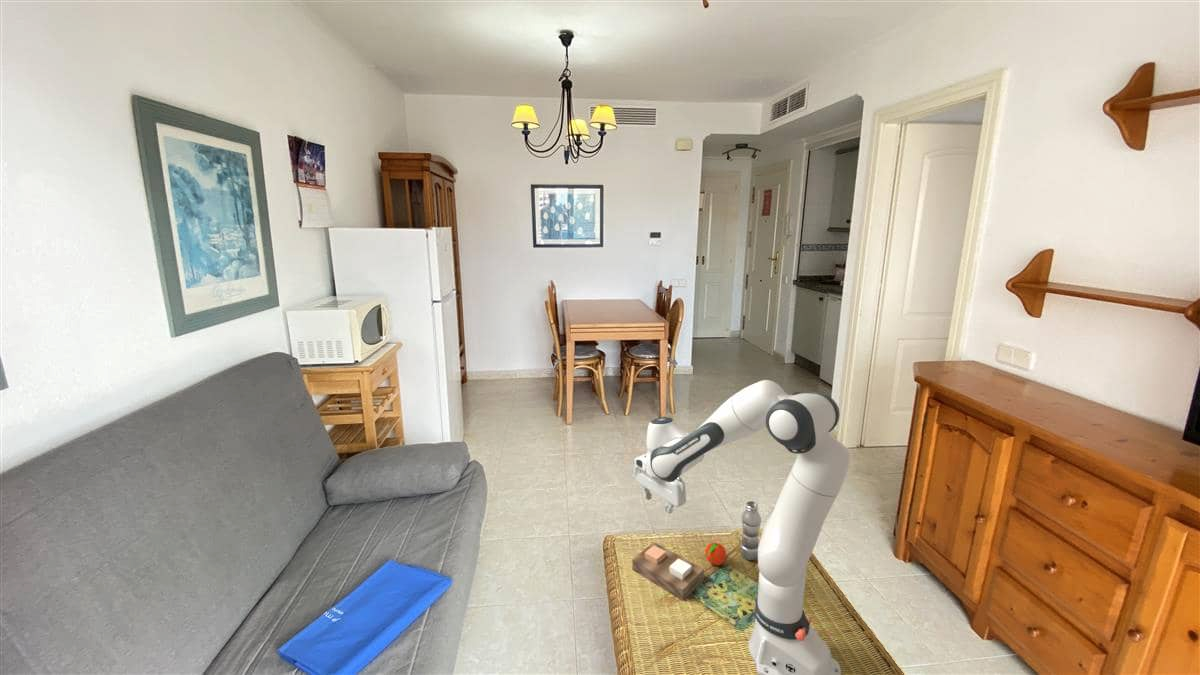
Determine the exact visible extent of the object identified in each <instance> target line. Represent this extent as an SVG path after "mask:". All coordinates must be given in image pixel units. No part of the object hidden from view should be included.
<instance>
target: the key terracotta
mask: <svg viewBox="0 0 1200 675" xmlns="http://www.w3.org/2000/svg"><path fill="white" fill-rule="evenodd" d="M665 558H666V551H664V550H662V549H660V548H658V547H657V546H655V545H653V546H652V547H651V548H650V549H648V550H647V551H646V552H645V559H647V560H648V561H650V562H652V563H654V564H655V565H658V564H659V563H661V562H662V561H663V560H664V559H665Z"/></svg>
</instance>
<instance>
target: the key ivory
mask: <svg viewBox="0 0 1200 675" xmlns="http://www.w3.org/2000/svg"><path fill="white" fill-rule="evenodd" d="M691 571H692V566H691V565H689V564H688V563H686V562H684V561H682V560H680V559H677V560H676V561H675V562H674V563H673V564H672V565H671V566H669V573H671V574H672V575H674V576H676V577H678V578H679V579H681V580H684V579H685V578H686V577H687V576H688V575H689V574H690V573H691Z"/></svg>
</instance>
